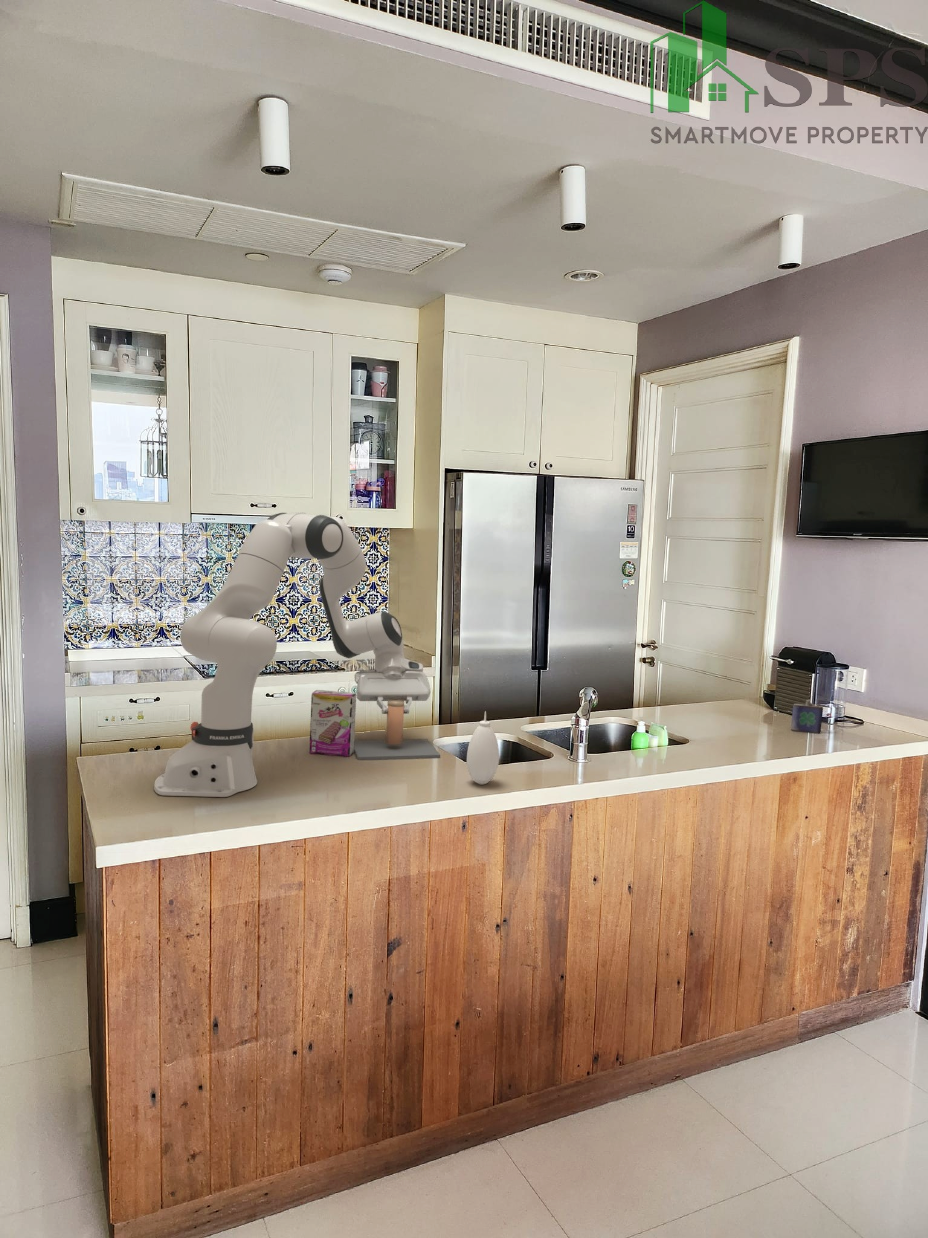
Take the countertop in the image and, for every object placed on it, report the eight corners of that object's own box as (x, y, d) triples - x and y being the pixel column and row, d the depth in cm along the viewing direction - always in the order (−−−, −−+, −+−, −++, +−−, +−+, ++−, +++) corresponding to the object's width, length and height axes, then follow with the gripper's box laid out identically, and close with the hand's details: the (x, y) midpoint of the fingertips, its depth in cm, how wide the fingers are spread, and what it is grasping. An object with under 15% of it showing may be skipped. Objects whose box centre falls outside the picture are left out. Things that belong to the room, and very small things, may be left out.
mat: (358, 760, 217) (358, 757, 216) (349, 743, 232) (350, 740, 232) (440, 757, 222) (440, 754, 222) (427, 741, 238) (427, 738, 238)
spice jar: (387, 744, 224) (389, 703, 223) (384, 740, 228) (386, 699, 227) (403, 744, 225) (405, 703, 224) (400, 740, 230) (402, 699, 228)
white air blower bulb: (498, 779, 206) (502, 708, 204) (496, 789, 199) (500, 715, 196) (467, 777, 207) (470, 706, 205) (463, 787, 199) (467, 713, 197)
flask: (791, 731, 274) (794, 699, 272) (789, 729, 276) (793, 697, 275) (821, 734, 271) (824, 702, 270) (819, 732, 274) (823, 700, 273)
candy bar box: (308, 754, 220) (310, 693, 218) (313, 749, 225) (315, 689, 223) (350, 757, 219) (352, 696, 217) (354, 752, 224) (356, 692, 222)
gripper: (355, 663, 228) (359, 706, 220) (428, 664, 234) (434, 706, 226) (352, 676, 233) (356, 719, 225) (424, 676, 239) (430, 718, 230)
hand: (395, 712), depth 225 cm, fingers closed on spice jar, 4 cm apart
